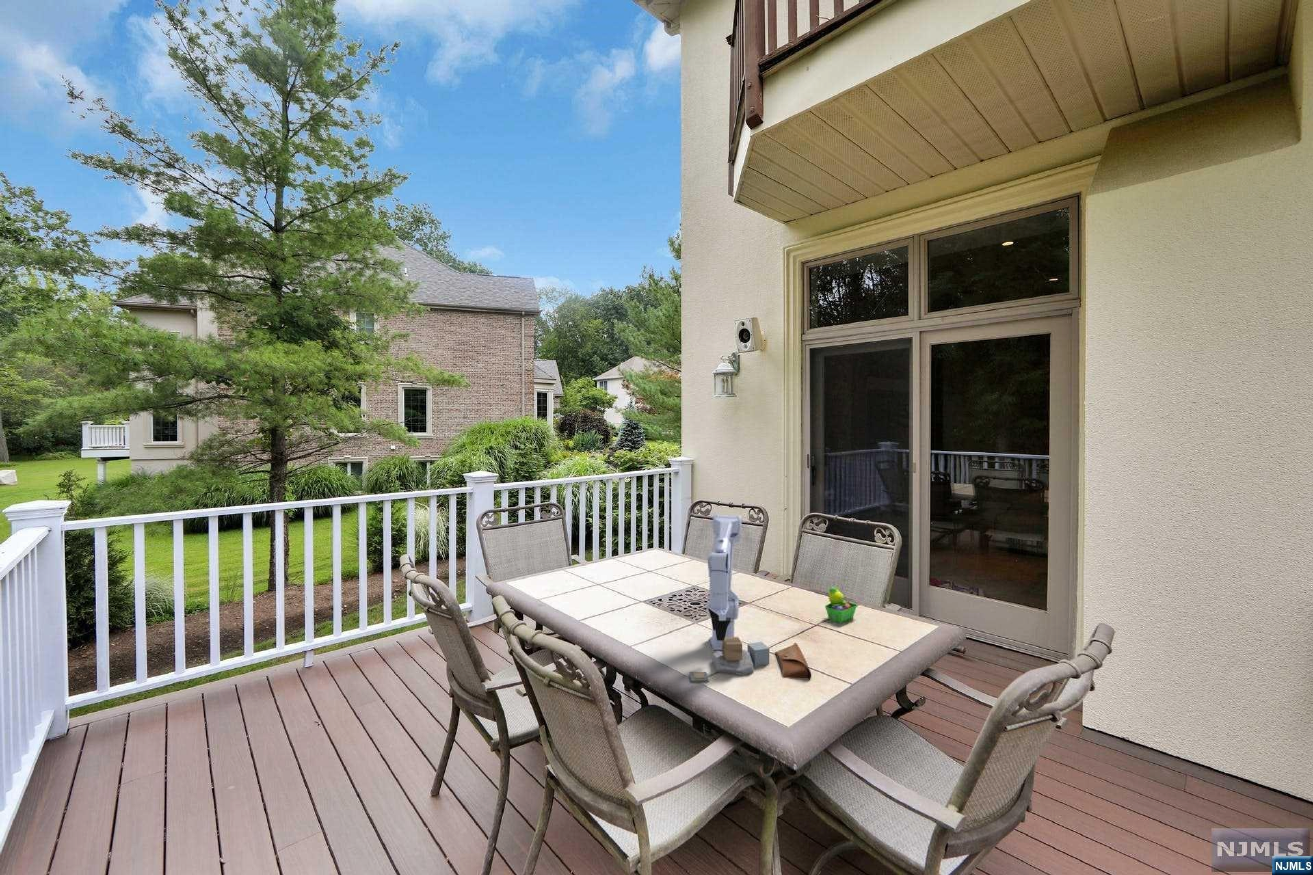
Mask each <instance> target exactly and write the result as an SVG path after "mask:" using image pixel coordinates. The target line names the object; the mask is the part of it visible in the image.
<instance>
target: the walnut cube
mask: <svg viewBox="0 0 1313 875" xmlns="http://www.w3.org/2000/svg"><path fill="white" fill-rule="evenodd" d="M742 649H743V642H742V641H741V639H740V637H739V636H734V637H725V639H724V641H722V650H721V652H722V654H723V656H724V658H725V660H726V661H730V660H742Z"/></svg>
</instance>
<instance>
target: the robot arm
mask: <svg viewBox="0 0 1313 875" xmlns="http://www.w3.org/2000/svg"><path fill="white" fill-rule="evenodd" d="M742 520H743V518H742V516H741V515H740V514H738V515H727V514H723V515H722V514H714V515H713V516H712V532H713V536H714V541H713V544H712V548H711V553H709V554H708V556H707V569H708V578H709V600H708V604H705V609H707V613H708V616H709V618H710V621H711V626H712V630H711V631H712V632H711V634H712V635H711V636H710V637H709V641H710V643H711V644H710V645H711V647H712V650H713V651H722V641H724V639H725V637H735V621H736V620H737V619H738V618H739V615H740V614H739V612H740V610H739V608H740V605H739V604H740V603H739V601H740V599H739V596H738V594H737V593H736V592H735V591H733V590H732V577H733V562H734V561H733V559H734V548H735V545H736V543H737V542H739V541H741V536H742V525H743V524H742V522H743V521H742Z"/></svg>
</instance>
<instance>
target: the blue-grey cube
mask: <svg viewBox="0 0 1313 875" xmlns="http://www.w3.org/2000/svg"><path fill="white" fill-rule="evenodd" d="M746 651H748V652H749V653H750V657H751V660H752V663H753V667H759V666H763V665H770V647H769V646H768V645H766V644H765V643H764V642H763V641H757V642H751V643H747V648H746Z"/></svg>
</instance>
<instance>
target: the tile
mask: <svg viewBox="0 0 1313 875" xmlns="http://www.w3.org/2000/svg"><path fill="white" fill-rule="evenodd" d="M689 678H690V682H691V683H709V681H710V680H709V677H708V674H707V671H689Z"/></svg>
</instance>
